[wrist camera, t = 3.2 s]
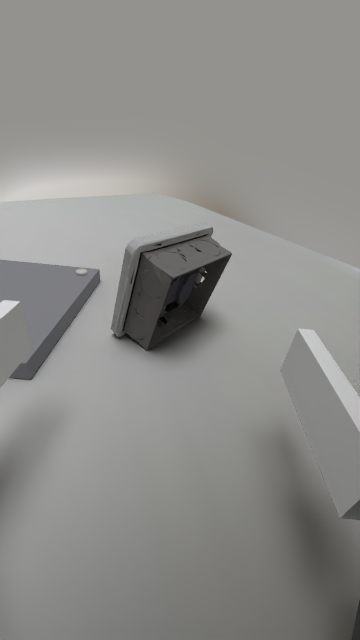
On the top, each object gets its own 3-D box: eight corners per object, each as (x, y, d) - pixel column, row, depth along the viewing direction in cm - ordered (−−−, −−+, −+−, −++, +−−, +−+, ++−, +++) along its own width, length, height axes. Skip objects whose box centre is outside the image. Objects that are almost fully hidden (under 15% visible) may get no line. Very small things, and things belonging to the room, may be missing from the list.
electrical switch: (177, 300, 29) (192, 215, 23) (214, 323, 27) (241, 235, 21) (109, 336, 23) (108, 231, 17) (150, 369, 20) (165, 262, 15)
